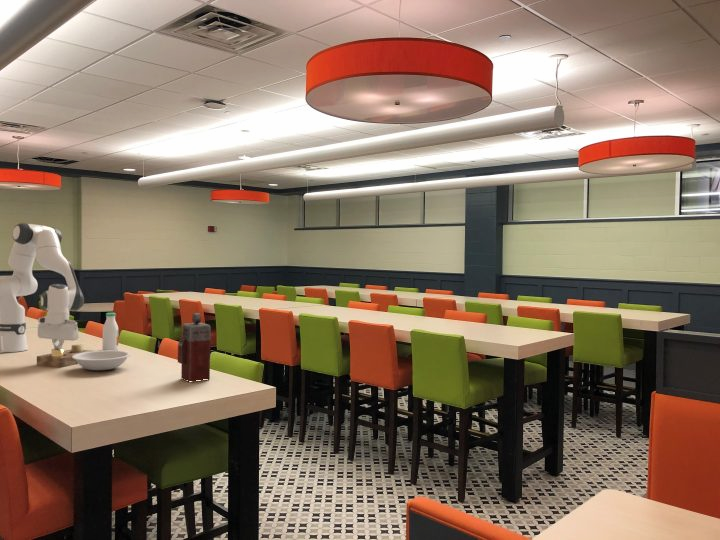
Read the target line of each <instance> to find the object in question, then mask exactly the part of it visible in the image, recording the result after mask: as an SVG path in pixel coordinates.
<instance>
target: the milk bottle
mask: <svg viewBox="0 0 720 540" xmlns="http://www.w3.org/2000/svg"><path fill="white" fill-rule="evenodd" d="M116 315H117V314H116V312H106V313H105V317H106V318H105V319H106V320H105V322H104V324H103V326H102V346H101V347H102V348H101V349H102V350H101V351H106V350H115V351H119V326H118V324H117V323H118V322H116Z"/></svg>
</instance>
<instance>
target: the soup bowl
mask: <svg viewBox="0 0 720 540" xmlns="http://www.w3.org/2000/svg"><path fill="white" fill-rule="evenodd" d="M131 355H132V354H131V352H129V351H124V350H116V351H115V350H106V351H103V350H92V351H91V352H84V353H79V354H75V355H73V356H72V358H73V359H75V360H76V361H77V363H78V365H79V366H80V367H82V368H83V369H84V370H85V369H86V370H90V371H108V370H112V369H113V370H114V369H116V368H119V367H120V366H121V365H122V364H124V363H125V362H126V360H127V359H128V357H129V358H130V356H131Z"/></svg>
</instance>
